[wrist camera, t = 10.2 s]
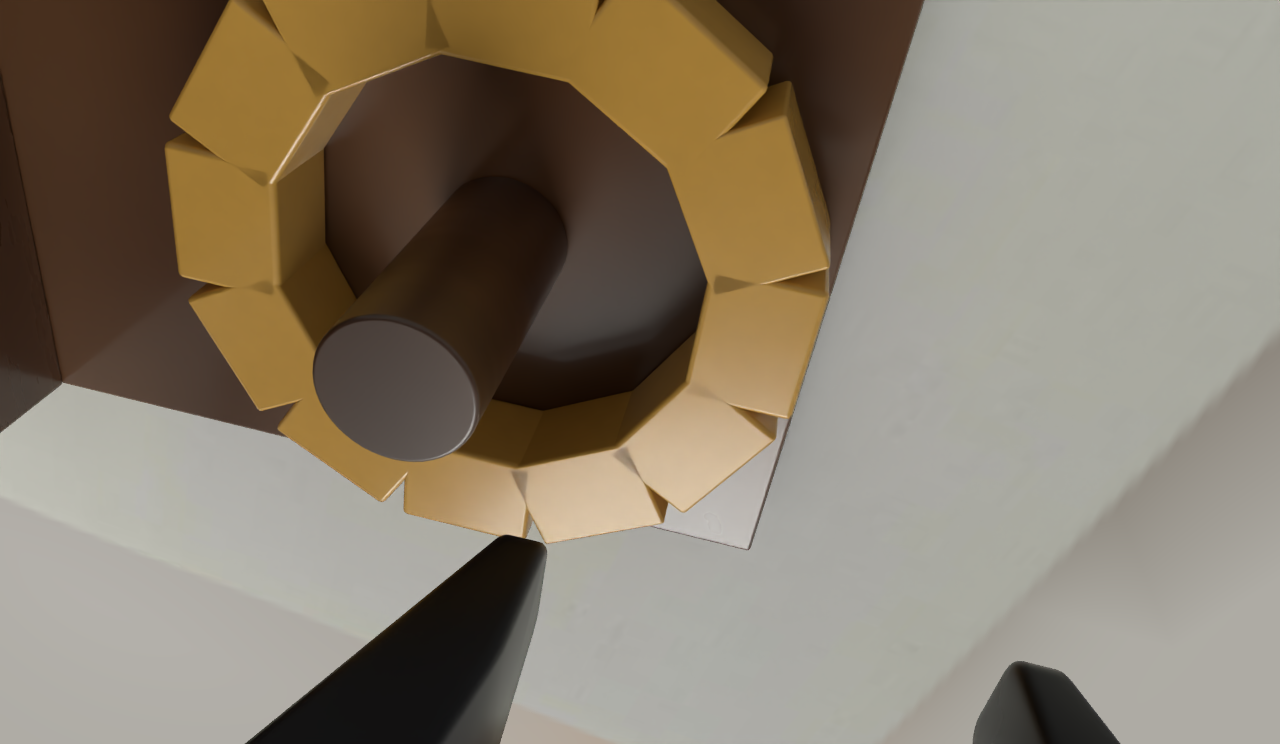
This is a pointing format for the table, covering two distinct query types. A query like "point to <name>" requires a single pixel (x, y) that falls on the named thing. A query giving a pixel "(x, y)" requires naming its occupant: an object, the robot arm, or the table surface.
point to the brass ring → (634, 100)
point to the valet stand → (396, 229)
